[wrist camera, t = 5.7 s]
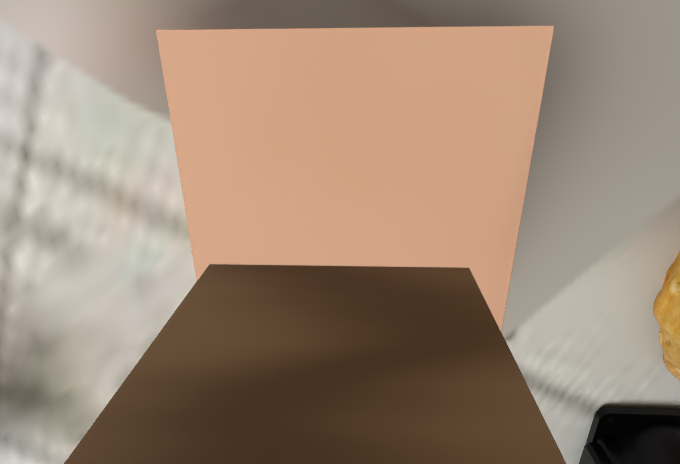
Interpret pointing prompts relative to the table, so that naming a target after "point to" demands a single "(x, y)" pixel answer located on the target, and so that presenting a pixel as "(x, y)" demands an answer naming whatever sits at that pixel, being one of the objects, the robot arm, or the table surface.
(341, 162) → the tile mat
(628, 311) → the table surface
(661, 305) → the bagel
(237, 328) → the walnut cube
